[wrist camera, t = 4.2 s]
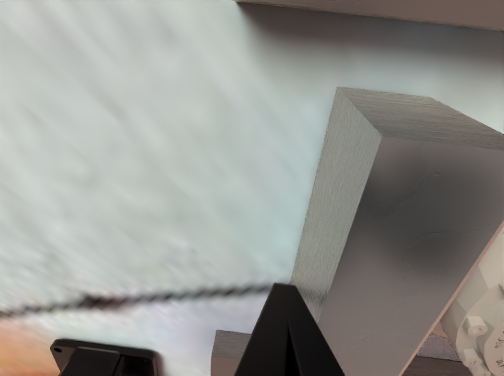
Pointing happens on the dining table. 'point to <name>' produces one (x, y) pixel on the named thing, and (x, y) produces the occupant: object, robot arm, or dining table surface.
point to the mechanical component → (479, 316)
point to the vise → (392, 7)
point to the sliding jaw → (395, 224)
